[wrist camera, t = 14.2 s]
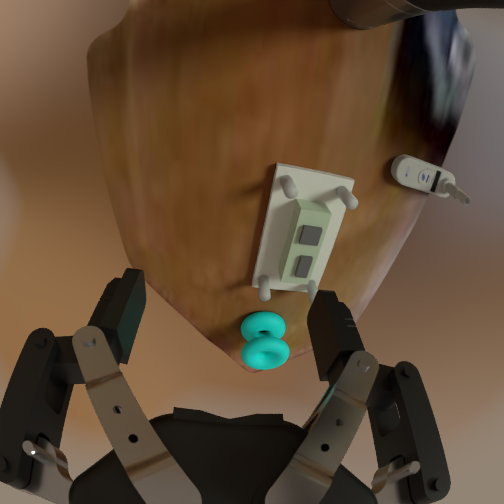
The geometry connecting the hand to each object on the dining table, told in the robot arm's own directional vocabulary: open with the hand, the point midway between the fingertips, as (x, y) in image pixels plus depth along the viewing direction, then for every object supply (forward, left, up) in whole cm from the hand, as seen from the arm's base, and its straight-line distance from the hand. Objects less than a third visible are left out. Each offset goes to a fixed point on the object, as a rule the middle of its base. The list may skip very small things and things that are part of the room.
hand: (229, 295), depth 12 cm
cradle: (+14, +13, -33) cm, 38 cm away
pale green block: (+14, +13, -32) cm, 37 cm away
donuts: (+38, +11, -33) cm, 52 cm away
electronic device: (-2, +34, -34) cm, 48 cm away
